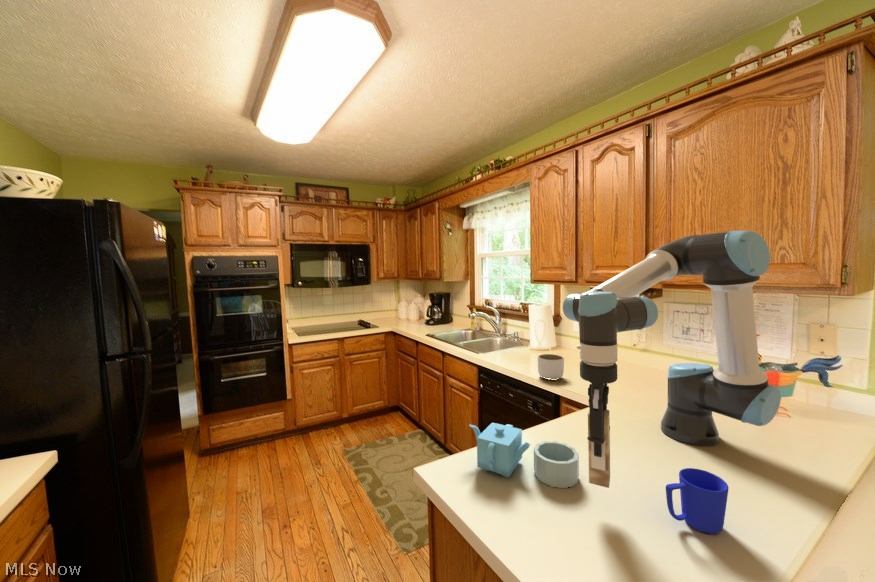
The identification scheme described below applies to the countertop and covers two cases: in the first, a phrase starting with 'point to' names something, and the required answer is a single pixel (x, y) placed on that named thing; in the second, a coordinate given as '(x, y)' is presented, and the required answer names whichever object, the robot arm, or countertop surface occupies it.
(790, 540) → the countertop surface
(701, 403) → the robot arm
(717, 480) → the mug
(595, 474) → the wooden post
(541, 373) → the planter
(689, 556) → the countertop surface
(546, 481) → the grey round bowl
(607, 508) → the countertop surface
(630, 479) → the countertop surface
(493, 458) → the teapot
